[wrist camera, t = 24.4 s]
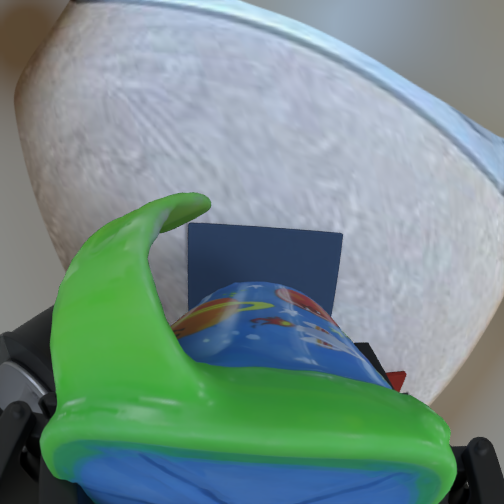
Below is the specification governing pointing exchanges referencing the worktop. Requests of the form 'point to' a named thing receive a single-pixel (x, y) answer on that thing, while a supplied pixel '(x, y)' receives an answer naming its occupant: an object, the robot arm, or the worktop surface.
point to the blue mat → (262, 260)
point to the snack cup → (222, 391)
